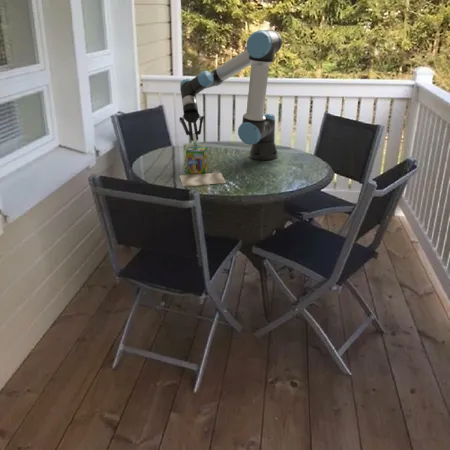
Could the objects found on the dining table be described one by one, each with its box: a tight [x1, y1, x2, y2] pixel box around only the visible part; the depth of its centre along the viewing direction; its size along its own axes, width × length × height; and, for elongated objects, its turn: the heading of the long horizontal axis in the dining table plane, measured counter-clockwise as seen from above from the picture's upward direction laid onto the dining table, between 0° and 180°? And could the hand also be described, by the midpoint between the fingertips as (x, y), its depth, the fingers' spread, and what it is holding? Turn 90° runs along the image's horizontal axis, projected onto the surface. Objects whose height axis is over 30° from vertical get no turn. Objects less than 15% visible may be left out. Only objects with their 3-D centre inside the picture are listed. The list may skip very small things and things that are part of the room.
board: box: [179, 172, 227, 188], centre depth 240 cm, size 20×16×1 cm
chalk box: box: [185, 141, 209, 175], centre depth 250 cm, size 9×9×15 cm
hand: (195, 145), depth 256 cm, fingers closed
